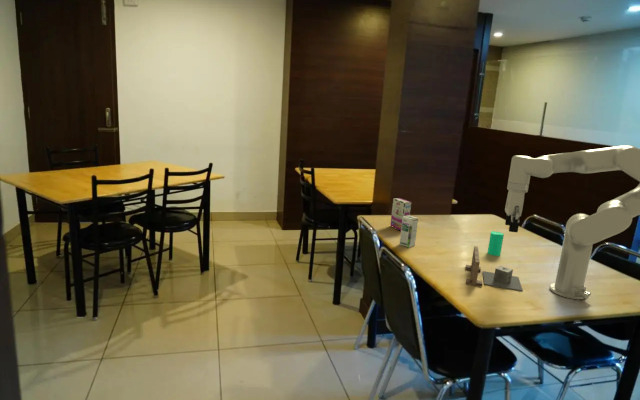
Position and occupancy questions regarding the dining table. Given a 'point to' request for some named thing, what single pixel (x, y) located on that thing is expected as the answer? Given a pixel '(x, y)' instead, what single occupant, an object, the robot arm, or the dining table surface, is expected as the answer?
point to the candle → (495, 243)
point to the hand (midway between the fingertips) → (511, 228)
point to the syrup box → (408, 231)
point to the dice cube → (503, 274)
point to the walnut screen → (474, 269)
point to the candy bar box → (399, 212)
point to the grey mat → (513, 284)
